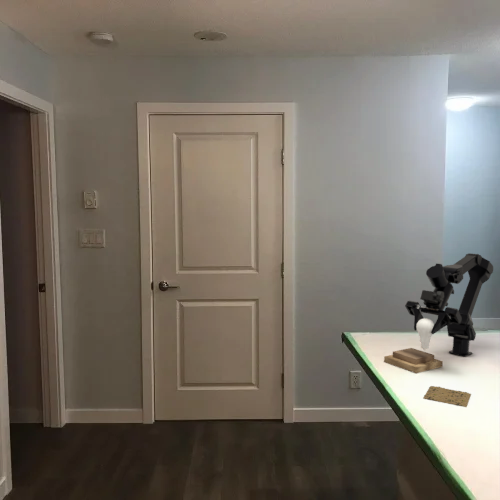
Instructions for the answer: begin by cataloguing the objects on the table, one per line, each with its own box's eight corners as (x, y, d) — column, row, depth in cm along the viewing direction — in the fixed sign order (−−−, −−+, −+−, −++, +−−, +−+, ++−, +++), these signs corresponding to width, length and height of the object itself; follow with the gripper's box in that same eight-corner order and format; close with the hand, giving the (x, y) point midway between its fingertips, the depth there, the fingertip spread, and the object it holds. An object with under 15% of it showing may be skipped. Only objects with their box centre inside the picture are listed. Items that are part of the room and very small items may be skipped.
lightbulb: (436, 349, 174) (437, 318, 173) (430, 353, 169) (432, 321, 168) (418, 346, 178) (420, 315, 177) (412, 350, 173) (414, 318, 172)
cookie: (467, 409, 141) (467, 405, 141) (422, 399, 147) (422, 396, 147) (472, 395, 151) (472, 392, 151) (429, 387, 157) (430, 384, 157)
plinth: (410, 356, 188) (410, 345, 188) (442, 366, 176) (443, 355, 176) (384, 361, 181) (384, 350, 180) (416, 373, 169) (416, 361, 168)
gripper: (408, 278, 181) (390, 312, 174) (459, 285, 167) (442, 323, 161) (419, 297, 187) (402, 331, 181) (468, 305, 173) (452, 342, 167)
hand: (423, 331), depth 172 cm, fingers closed on lightbulb, 6 cm apart
